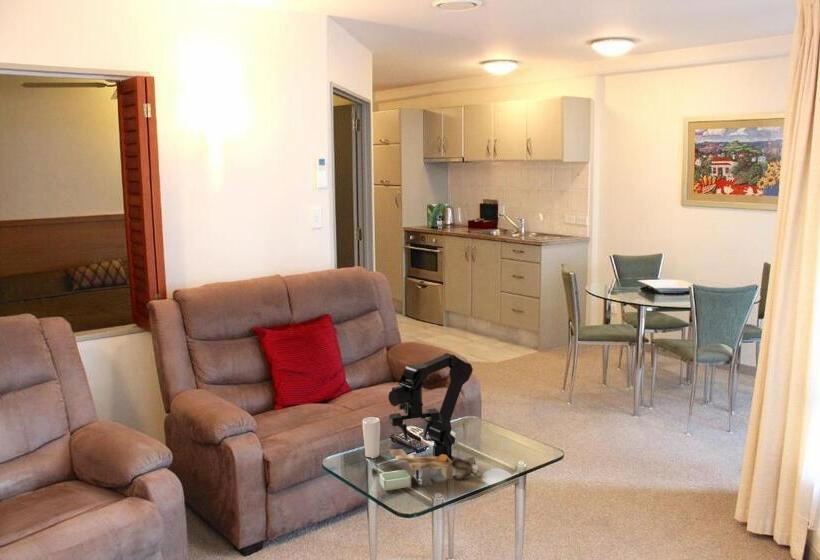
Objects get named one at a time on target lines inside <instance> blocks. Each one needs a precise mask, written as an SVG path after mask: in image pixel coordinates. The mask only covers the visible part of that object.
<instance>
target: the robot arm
mask: <svg viewBox="0 0 820 560" xmlns="http://www.w3.org/2000/svg"><path fill="white" fill-rule="evenodd" d="M445 368H448V369H449V373H448V374H449V380H450V381H449V384H448V387H447V390H446V393H445V395H444V397H443V401H442V405H441V407H440V410H437V409H436V408H428V409H426V410H425V412H423V406H424V403H423V387H426V386H427V383H426V382H425V380H427V379H428V377H429V376H430V375H432V374H434V373H436V372H438V371H441V370H444V369H445ZM473 370H474V369H473V366H472V364H471V363H469V362H466V361H464V360H462V359H460V358H459V357H457V356H456V354H451V353H448V352H445V353H443V354H442V355H440V356H438V357H435V358H433V359H431V360H428V361H426V362H423V363H414V364H413V363H412V364H409V365H407V366H405V368H404V370H403V372H402V374H401V375H400V378H399V380H398V382H397V384H398V386H393V387H391V390H390V391H389V393H388V397H387V398H388V401H389V403H390V405H391V406H392V407H397V408H398V410H402V411H403V412H404V414H406V415H401V414H400V412H398V413H397V412H396V413H390V414H389V416H388V421H389V423H390V425H392V426H393V427H398V428H399V429H401V432H402V435H403V438H404V440H405V441H408V433H407V432H408V430H407V424H406V421H407V422H408V421H414V420H423V426H422V427H423V428H422V436H423V438H427V434H428V437H429V439H430V441H432V442H433V445H432V457H437V456H440V455H441V454H444V455H447V456H448V457H449V459H450V460H454V456H453V455H452V453H453V451H452V450H453V449H452V446H453V445H454V444H455V441H456V437H454V435H452V433H451V432H452V423H451V419H452V417H453V413H454V411H455V408H456V405H457V402H458V399H459V396H460V394H461V390H462V387H463V386H464V385H465V384H466V383H467V382H468V381H469V379H470V377H471V375H472V373H473Z"/></svg>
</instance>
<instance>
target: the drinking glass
mask: <svg viewBox="0 0 820 560" xmlns="http://www.w3.org/2000/svg"><path fill="white" fill-rule="evenodd" d="M362 433H363V443H364V455H365V457H366V458H367V457H374V458H373V459H376V458H378V457H379V455H380V452H379V451H380V438H381V437H380V436H381V435H380V434H381V421H380V419H379V418H378V417H374V416H369V417H365V418H363V419H362Z"/></svg>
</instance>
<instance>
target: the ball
mask: <svg viewBox="0 0 820 560" xmlns="http://www.w3.org/2000/svg"><path fill="white" fill-rule="evenodd" d="M438 460H439V462H446V461H447V456H446V455H444V454H441V455H440V456H439V458H438Z"/></svg>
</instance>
